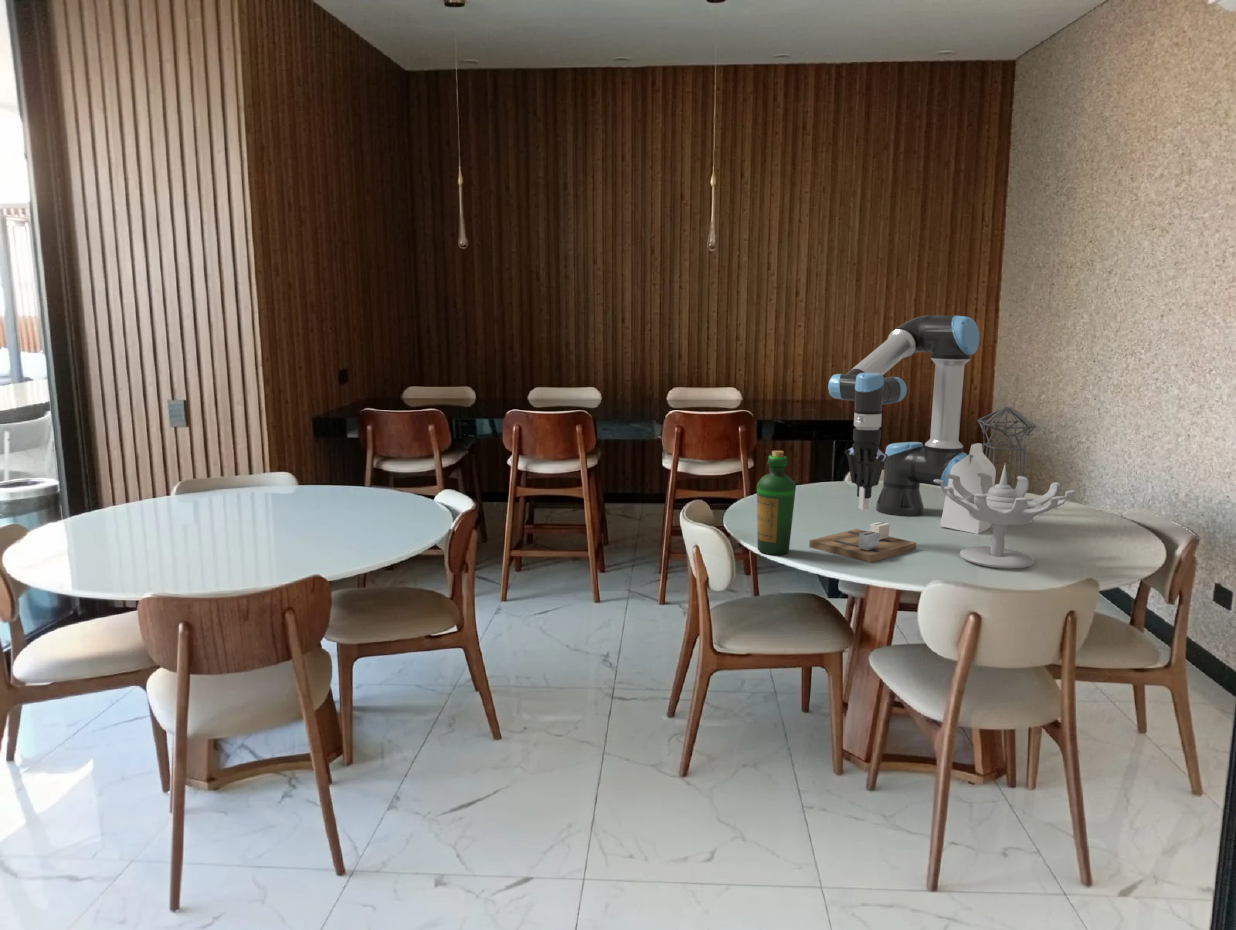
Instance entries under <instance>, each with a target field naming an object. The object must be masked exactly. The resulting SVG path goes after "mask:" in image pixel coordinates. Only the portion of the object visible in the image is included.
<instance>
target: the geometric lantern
mask: <svg viewBox="0 0 1236 930" xmlns="http://www.w3.org/2000/svg"><path fill="white" fill-rule="evenodd" d="M1004 415H1005V418H1004V421H1000V420H1001V418H1003V416H1004ZM1008 416H1009V419H1010V420H1008ZM987 418H988V419H987ZM1013 418H1014V419H1015V420H1014V419H1013ZM976 421H977V422H978V424H979V425H980V428H981V432H982V434H983V435H982V436H983V437H982V438H983V443H982V452H983V453H984V452H985V454H984V455H985V456H986V457H987V458H988V459H989V460H990V461H991V453H992V450H993V458H992V460H993V461H992V464H993V465H994V466H995V463H996V449H997V450H1010V457H1009V464H1008V473H1007V484H1008V485H1010V478H1011V477H1010V476H1011V470H1012V469H1011V468H1012V461H1013V452H1014V450H1015V456H1014V457H1015V459H1014V478H1013V481H1014V482H1013V489H1014V490H1015V488H1016V485H1017V467H1018V476H1023V477H1025V467H1026V466H1025V464H1026V462H1025V461H1026V447H1025V440H1026V436H1030V433H1032V431H1034V430H1035V428H1038V425H1035V424H1034V423H1033V422H1032V421H1030V420H1029V419H1028V418H1026V417H1025V416H1023V415H1022V414H1021V413H1019V412H1018V411H1017V410H1015V409H1014V408H1013V407H1009V406H1004V407H1002V408H1000V409H997V410H996V411H994V412H991V413H989V414H987V415H985V416H982V417H980V418H978V419H977V420H976ZM993 423H994V425H993ZM1008 423H1009V424H1011V425H1009V426H1007V424H1008ZM1017 423H1021V426H1016V424H1017ZM1002 424H1004V425H1002ZM1000 427H1001V428H1000ZM989 428H991V429H993V432H992V433H991V436H990V437H989V436H988V435H989V434H988V430H989ZM1002 428H1003V429H1002ZM1009 429H1014V434H1008V430H1009ZM1019 429H1022V430H1020V431H1019V432H1017V430H1019ZM997 431H998V432H1001V433H1002V434H1003V435H1002V437H1001V438H1000V439H999V441H997V442H990V441H991V440H992V438H993V436H994V435H995V433H996V432H997ZM1022 433H1023V434H1022ZM1020 434H1022V435H1021V436H1020V438H1019V439H1018V435H1020ZM985 436H986V439H987V442H986V441H985ZM1005 437H1007V439H1008V441H1010V443H1003V442H1002V443H1001V441H1002V440H1003V439H1004V438H1005ZM1010 437H1015V439H1016V442H1017V443H1013V442H1012V441H1011V439H1010ZM1022 439H1023V442H1022V445H1021V444H1020V443H1021V441H1022ZM992 445H994V446H992ZM997 445H1004V446H1005V445H1008V446H1011V448H1010V447H1009V448H1008V447H996V446H997ZM1014 447H1015V448H1014ZM1018 447H1019V448H1018ZM985 448H986V449H985ZM988 451H989V452H988ZM1018 451H1019V454H1018ZM1022 451H1023V453H1022ZM1018 459H1019V460H1018ZM1021 467H1022V468H1021ZM1021 469H1022V470H1021ZM1021 473H1022V475H1021Z"/></svg>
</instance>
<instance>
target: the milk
mask: <svg viewBox="0 0 1236 930" xmlns="http://www.w3.org/2000/svg"><path fill="white" fill-rule="evenodd" d="M982 449H983V443H979V442H977V443H976V442H975V443H973V444H971V446H970V449H969V454H967V455H968V456H966V457H965V458H963V459H962V460H960V461H959V462H958V463H956V464H955V465H954V466H953V467H952V468H951V471H950V474H952V475H956V476H959V477H960V482H961V485H962V486H963V487H964V488H965V489H966V490H967V491H968V492H970V493H971V494H973V495H976V494H982V488H981V477H979V476H978V475H977V474H978V473H984V474H988V475H989V476H991V477H992V483H993V487H994V486H995V485H996V484H995V483H996V474H997V472H996V470H997V469H996V467H995V465H993V462H992V461H991V459H990V460H989V459H988V456H987V457H986V456H985V454H984V453H983V452H982ZM952 482H953V479H950V478H949V481H948V487H952V488H953V489H954V494H955V495H956V496H958V497H960V498H963V497H962V496H961V495H960V494H959V493H958V492H957V491H956V489H955V488H954V486H953V483H952ZM939 526H940V527H942V528H948V529H951V530H952V529H953V530H957V531H962V532H966V533H972V534H976V535H978V534H980V533H982V532H984V531H986V530H988V529H989V528H991V523H988V522H983V521H979V520H977V519H974V518H972V517H971V516H970V515H969V511H968V510H967V509H966V508H964V507H963V506H961V505H959V504H957V503H956V502H954V501H953V500H951V499H950V498H949V497H948V496H947V495H945V498H944V502H943V509H942V515H941V520H940V523H939Z"/></svg>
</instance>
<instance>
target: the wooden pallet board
mask: <svg viewBox="0 0 1236 930" xmlns="http://www.w3.org/2000/svg"><path fill="white" fill-rule="evenodd" d="M865 532H869V531H868V530H862V529H858V528H854V529H850V530H845V531H841V532H837V533H834V534H830V535H829V534H828V535H825V536H821V537H815V538H813V539H809V545H808V546H809V548H811V549H816V550H819V551H823V552H827V553H830V554H835V555H837V556H838V555H839V556H842V557H847V558H850V559H855V560H857V561H861V562H865V563H874V562H878V561H881V560H884V559H888V558H891V557H894V556H898V555H901V554H904V553H905V554H906V553H910V552H912V551H915V550H917V542H914V541H910V540H906V539H901V538H897V537H893V536H889V537H888V538H884V539H881V540H879V548H875V549H872V550H864V549H860V548H859V534H861V533H865Z"/></svg>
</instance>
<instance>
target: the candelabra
mask: <svg viewBox="0 0 1236 930" xmlns="http://www.w3.org/2000/svg"><path fill="white" fill-rule="evenodd" d="M1006 468H1007V467H1006V463H1004V466H1003V469H1002V472H1001V476H1000V480H999V483H996V484H995V486H994V487H993V483H992V477H991V476H989V475H988V474H984V473H978V474H977V475H978V476H979V477H981V488H982V494H976V495H973V494H971V493H970V492H968V491H967V490H966V489H965V488H964V487H963V486H962V485H961V482H960V477H959V476H956V475H952V474H948V475H946V477H948V478H950V479H953V482H952V483H953V486H954V488H955V489H956V491H957V492H958V493H959V494H960V495H961V496H962V497H963V498H960V497H958V496H956V495H955V494H954V489H953V488H952V487H945V486H944V485H943V480H939V479H935V480H933V481H934V482H935V483H938V484H941V487H940V490H941V491H942V494H944V495H945V496H946V495H947V496H948V497H949V498H950V499H951V500H953V501H954V502H956V503H957V504H959V505H961V506H963V507H964V508H966V509H967V510H968V511H969V515H970V516H971V517H972V518H974V519H977V520H979V521H983V522H988V523H991V525H990V527H991V530H992V538H991V542H990V546H971V547H966V548H964V549H962V550H960V552H959V556H960V557H961V558H962V559H964V560H965V561H967V562H969V563H972V564H976V565H979V566H984V567H987V568H988V567H989V568H995V569H996V568H997V569H1011V570H1012V569H1023V568H1029V567H1031V566H1033V565H1034V564H1035V559H1034V557H1032V556H1031V555H1029V554H1026V553H1025V552H1023V551H1018V550H1015V549H1012V548H1011V549H1010V548H1005V544H1006V543H1005V534H1006V531H1007V529H1008V526H1020V525H1026V524H1029V523H1031V522H1032V521H1033V519H1034V517H1036V516H1038V515H1040V514H1044V513H1046V512H1047V513H1048V512H1049V511H1051V510H1054V509H1056V508H1058V507H1060V506H1062V505H1064V504H1065V503H1066V502H1067V501H1068V496H1071V495H1074V494H1076V493H1077V490H1075V489H1070V490H1066V491H1065V493H1064V495H1059V496H1058V495H1057V493H1058V488H1060V486H1061V483H1059V482H1057V481H1056V482H1055V481H1054V482H1052V483H1051V484H1050V486H1049V490H1047V492H1046V493H1045V494H1042V496H1040V497H1038V498H1035V499H1034V498H1032V497H1025V496H1026V494H1027V492H1028V490H1029V486H1030V485H1029V482H1030V481H1029V479H1028V478H1027V477H1026V476H1024V477H1023V476H1022V475H1021V476H1019V475H1018V476H1017V475H1016V480H1017V481H1016V488H1015V490H1014V487H1013V488H1012V486H1011V485H1010V484H1009V485H1008V484H1007V480H1008V476H1007V470H1006ZM1056 495H1057V496H1056ZM1049 501H1050V502H1049ZM1048 502H1049V503H1048ZM1047 503H1048V504H1047Z"/></svg>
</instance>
